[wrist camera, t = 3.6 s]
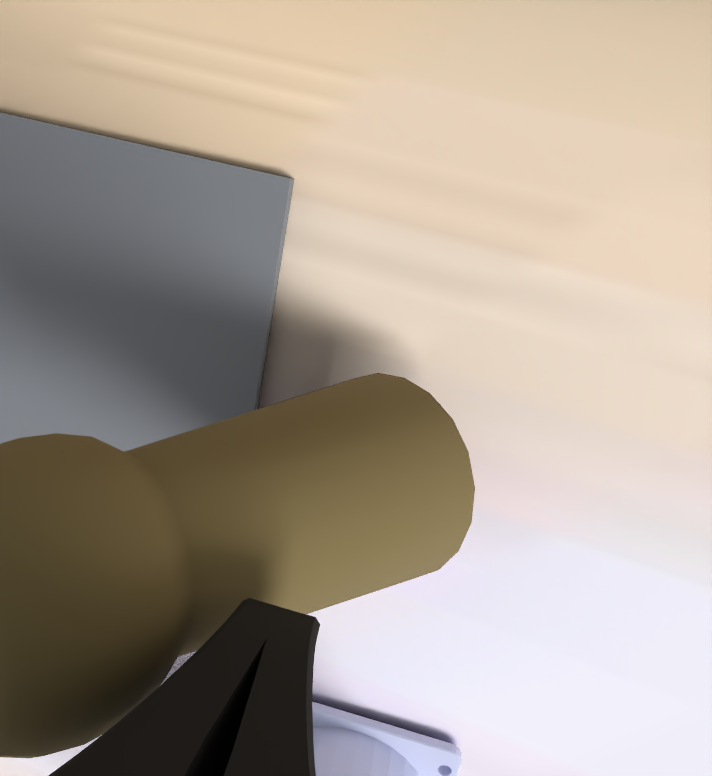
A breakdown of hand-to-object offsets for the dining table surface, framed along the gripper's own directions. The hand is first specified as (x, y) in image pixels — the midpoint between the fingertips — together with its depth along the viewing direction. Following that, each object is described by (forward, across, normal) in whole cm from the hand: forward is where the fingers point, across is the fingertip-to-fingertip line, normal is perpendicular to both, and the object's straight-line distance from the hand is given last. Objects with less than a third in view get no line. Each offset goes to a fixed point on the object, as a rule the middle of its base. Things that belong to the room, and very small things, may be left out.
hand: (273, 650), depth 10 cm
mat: (+9, +12, 0) cm, 15 cm away
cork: (+7, -1, 0) cm, 8 cm away
